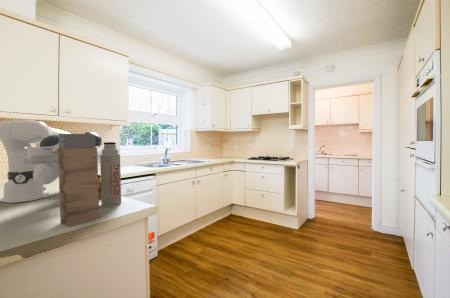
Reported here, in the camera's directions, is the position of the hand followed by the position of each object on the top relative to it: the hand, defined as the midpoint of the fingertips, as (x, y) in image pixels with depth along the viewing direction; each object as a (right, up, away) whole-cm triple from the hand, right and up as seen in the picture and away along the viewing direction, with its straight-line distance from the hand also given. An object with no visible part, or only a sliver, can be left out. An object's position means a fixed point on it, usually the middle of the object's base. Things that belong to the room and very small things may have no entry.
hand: (68, 144), depth 82 cm
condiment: (-6, -27, +25) cm, 37 cm away
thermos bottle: (+7, -27, +18) cm, 33 cm away
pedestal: (+6, -28, -3) cm, 28 cm away
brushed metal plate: (+2, -2, -1) cm, 3 cm away
